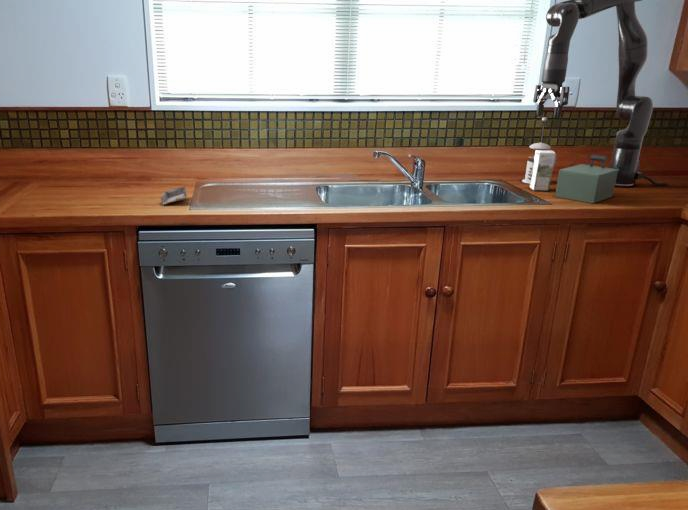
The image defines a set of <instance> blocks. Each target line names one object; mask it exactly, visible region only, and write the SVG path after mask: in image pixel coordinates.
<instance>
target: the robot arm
mask: <svg viewBox="0 0 688 510" xmlns="http://www.w3.org/2000/svg"><path fill="white" fill-rule="evenodd" d="M641 1H643V0H565V1H561V2H557V3H555V4H553V5H551V7H549V8H548V10H547V12H546V14H545V20H546V23H547V24H548V25H549V26H550V27H555V28H557V31H556V33H554V34H551V35H550V36H549V37H548V39H547V44H546V53H545V57H544V60H543V66H542V75H541V83H542V84H536V85H535V88H534V94H533V100H532V102H533V103H535V104H536V114H535V115H536V116H537V117H543V115H544V111H545V110H544V109H545V105H544V104H546V102H547V100H552V103H554V105H555V106H554V112H553V119H560V118H561V116H562V112H563V111H562V110H563V107H564V106H568V104H569V97H570V86H563V84H564V83H565V82H566V78H567V77H566V76H567V70H568V63H569V51H570V45H571V39H572V37H573V35H574V32H575V30H576V27H577V25H578V23H579V20H582V19H585V18H589V17H591V16H593V15H596V14H598V13H601V12H603V11H606V10H608V9H612V8H614V7H615V10H616V11H615V12H616V18H617V36H618V37H617V40H618V42H617V58H618V59H617V60H618V82H617V83H618V85H617V96H616V98H617V99H616V107H615V108H616V115H617V117H618V119H619V120H622V121H626V122H629V123H628V125H627V127H625V129H621V130H619V131H617V132H616V135H615V140H614V145H613V150H612V155H611V160H610V164H609V168H613V169H619V171H618V173H617V177H616V182H615V187H621V188H629V187H633V186H635V185H636V181H637V180H642V179H645V180H648V181H649V182H650V183H651V184H652V185H654V186H668V184H669V183H668V182H656V181H655V180H653V179H652V178H650V177H649V176H646V175H643V172H640V171H639V168H640V163H641V161H640V160H639V158H640V155H641V149H642V145H643V141H644V137H645V135H646V133H647V132H648V128H649V125H650V121H651V118H652V114H653V111H654V110H653V109H654V103H653V100H652V98H651V97H649V96H647V95H646V96H645V95H636V83H637V78H638V76H639V75H640V73H641V71H642V69H643V68H644V66H645V63H646V62H647V60H648V53H649V52H648V51H649V49H648V36H647V34H646V31H645V29H644V28H643V26H642V24H641V22H640V21H639V19H638V16H637V12H636V2H637V3H638V2H641Z"/></svg>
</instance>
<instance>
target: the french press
mask: <svg viewBox="0 0 688 510" xmlns="http://www.w3.org/2000/svg"><path fill="white" fill-rule="evenodd" d="M541 121H543V123H545V121H548V118H547V117H546V116H544V117H543V116H542V118H541ZM542 125H543V126H542V129H544V127H545V124H542ZM543 133H544V130H542V132H541V135H543ZM540 139H541V140H540V142H535V143H532V144H531V145H529V147H528V148H529V149H532V150H551V149H552V147H551V146H550V145H549V144H547V143H544V142H542V140H543V136H541V137H540ZM534 157H535V155H530V156H528V159H527V162H526V167H525V174H524V178H523V179H522V180H521V182H522V183H524V184H529V185H530V182H531V176H532V170H533V164H534ZM557 159H558V158H557V153H556V154H555V159H554V165H553V168H554V167H555V165H556V164H557Z"/></svg>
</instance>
